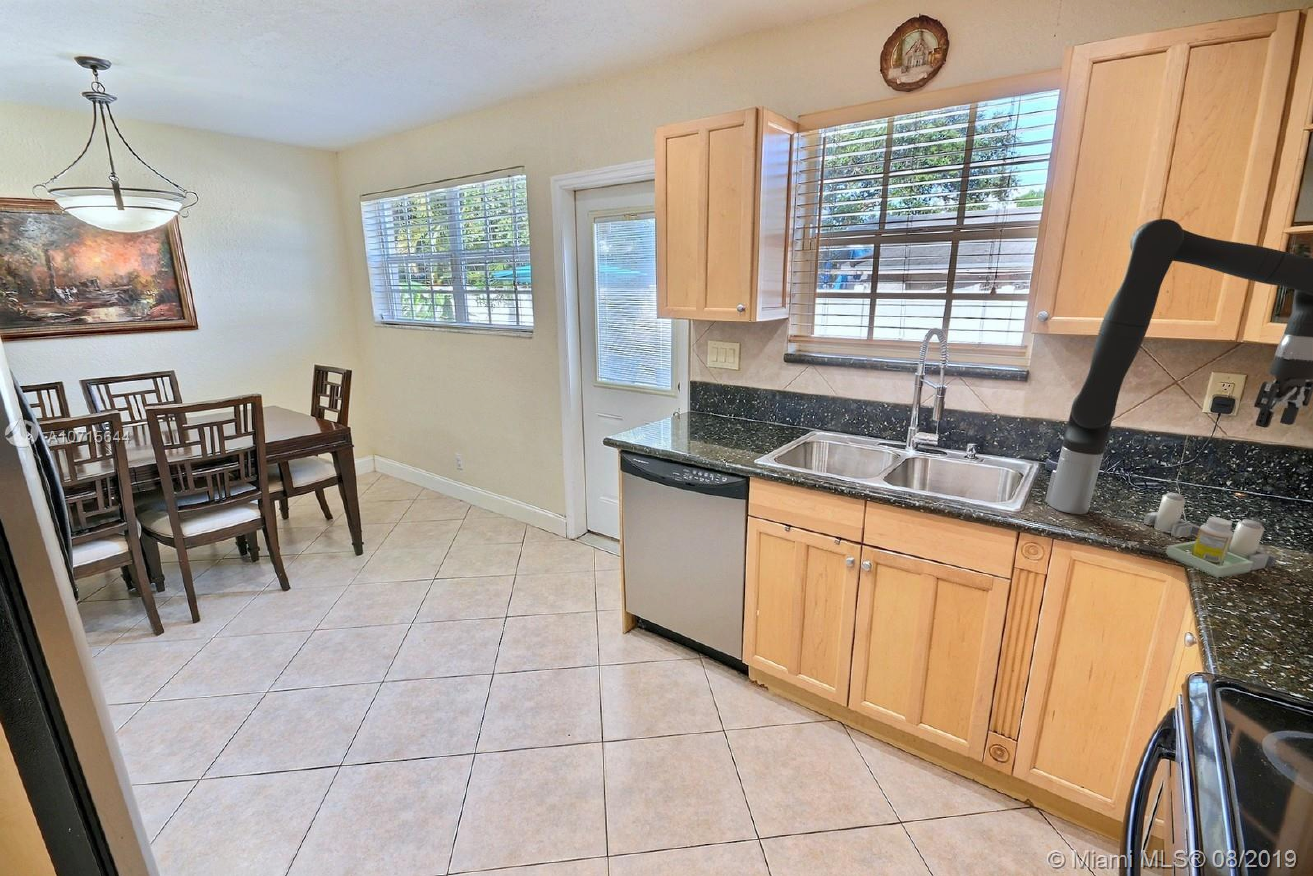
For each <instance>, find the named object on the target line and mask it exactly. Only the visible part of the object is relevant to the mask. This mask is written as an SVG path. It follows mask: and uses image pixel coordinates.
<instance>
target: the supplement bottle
mask: <svg viewBox="0 0 1313 876" xmlns="http://www.w3.org/2000/svg"><path fill="white" fill-rule="evenodd" d="M1232 524H1233V523H1232V522H1231V521H1230V520H1227V519H1226V518H1225V519H1224V518H1222V517H1218V516H1217V517H1216V516H1209V517H1208V518H1207V520H1206V523H1203V524H1201V525H1200V530H1199V533H1198V536H1197V537H1196V539H1195V541H1196V542H1195V545H1194V548H1193V551H1192V555H1194V556H1196V557H1199V558H1201V559H1203V560H1205V561H1208V562H1210V563H1212V564H1215V565H1217V566H1220V565H1222V564H1223V563H1224V560H1225V557H1226V555H1227V552H1228V549H1229V546H1230V543H1231V541H1232V538H1233V535H1234V532H1233V531H1232V530H1231V529H1232V526H1233V525H1232Z"/></svg>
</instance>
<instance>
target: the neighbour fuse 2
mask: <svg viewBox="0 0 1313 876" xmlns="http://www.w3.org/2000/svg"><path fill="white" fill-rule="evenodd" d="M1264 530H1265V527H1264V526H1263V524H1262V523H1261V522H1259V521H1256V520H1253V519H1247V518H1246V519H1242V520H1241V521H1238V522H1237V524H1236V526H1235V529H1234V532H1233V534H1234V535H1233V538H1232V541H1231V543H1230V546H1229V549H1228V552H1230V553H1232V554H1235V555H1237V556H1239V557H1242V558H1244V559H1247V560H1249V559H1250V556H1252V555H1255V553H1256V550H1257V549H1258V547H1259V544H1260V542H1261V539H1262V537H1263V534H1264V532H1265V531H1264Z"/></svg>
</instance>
